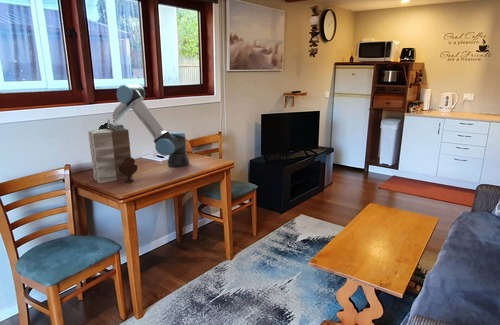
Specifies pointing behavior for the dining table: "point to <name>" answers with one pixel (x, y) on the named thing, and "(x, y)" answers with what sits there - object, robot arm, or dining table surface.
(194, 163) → the dining table surface
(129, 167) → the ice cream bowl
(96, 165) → the wooden block tower
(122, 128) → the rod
